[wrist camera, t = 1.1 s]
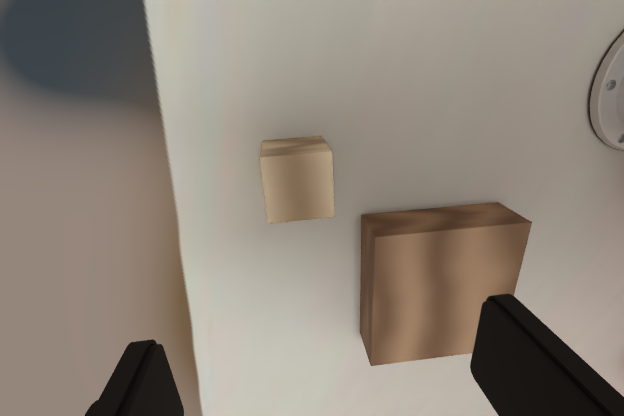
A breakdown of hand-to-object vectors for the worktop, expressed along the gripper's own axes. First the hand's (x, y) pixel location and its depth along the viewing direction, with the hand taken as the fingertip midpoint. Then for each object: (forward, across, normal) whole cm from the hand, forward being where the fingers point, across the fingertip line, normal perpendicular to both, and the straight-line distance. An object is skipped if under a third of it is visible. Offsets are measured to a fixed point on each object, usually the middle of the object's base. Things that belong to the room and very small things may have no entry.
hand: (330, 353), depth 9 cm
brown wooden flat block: (+21, -13, +13) cm, 28 cm away
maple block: (+21, 0, 0) cm, 21 cm away
